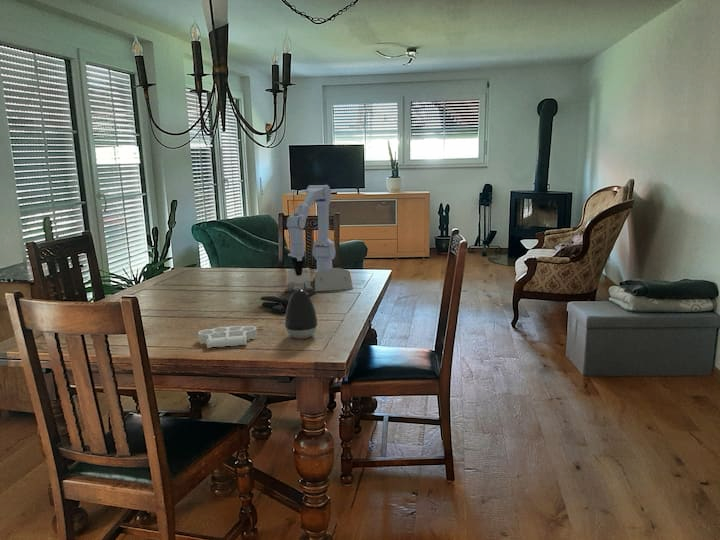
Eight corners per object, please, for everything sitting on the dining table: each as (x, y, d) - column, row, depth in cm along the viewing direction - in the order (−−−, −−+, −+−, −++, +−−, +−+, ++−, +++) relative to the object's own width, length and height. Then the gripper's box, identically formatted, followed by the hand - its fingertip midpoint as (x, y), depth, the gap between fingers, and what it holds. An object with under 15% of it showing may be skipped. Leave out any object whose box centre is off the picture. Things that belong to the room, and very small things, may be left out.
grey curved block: (314, 291, 234) (313, 268, 235) (314, 292, 238) (313, 269, 240) (353, 289, 236) (351, 266, 237) (352, 290, 240) (350, 267, 242)
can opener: (295, 312, 203) (294, 297, 202) (279, 315, 198) (278, 300, 197) (270, 303, 216) (269, 289, 215) (254, 306, 212) (254, 292, 211)
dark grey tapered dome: (322, 338, 170) (320, 291, 167) (289, 343, 167) (287, 295, 164) (313, 329, 179) (311, 284, 177) (282, 333, 176) (280, 288, 173)
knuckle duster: (196, 352, 162) (200, 337, 176) (257, 346, 166) (256, 332, 180) (195, 341, 161) (199, 327, 176) (257, 336, 165) (256, 322, 179)
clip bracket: (285, 289, 239) (285, 280, 238) (310, 287, 241) (310, 278, 241) (287, 292, 232) (286, 283, 231) (312, 290, 235) (312, 281, 234)
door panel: (286, 283, 236) (286, 269, 235) (309, 281, 238) (309, 268, 237) (287, 284, 233) (286, 270, 232) (310, 282, 236) (310, 269, 234)
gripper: (285, 241, 239) (287, 272, 241) (289, 246, 225) (290, 278, 228) (301, 240, 240) (303, 271, 243) (306, 245, 227) (307, 277, 229)
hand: (298, 274), depth 235 cm, fingers closed on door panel, 2 cm apart
